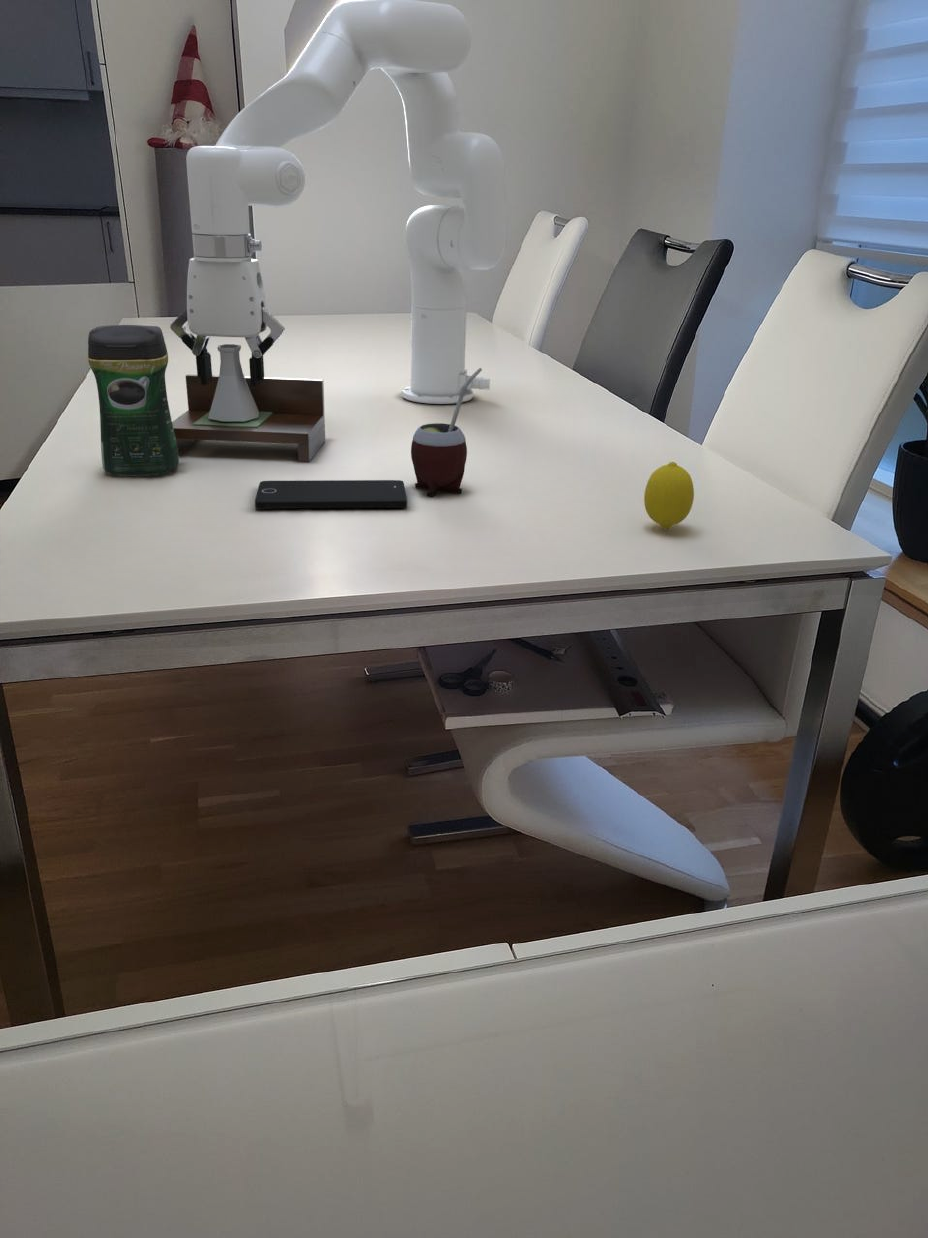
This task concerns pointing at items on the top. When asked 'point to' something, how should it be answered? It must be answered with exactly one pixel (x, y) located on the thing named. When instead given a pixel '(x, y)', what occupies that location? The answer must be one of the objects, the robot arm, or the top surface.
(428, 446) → the mate gourd
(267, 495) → the cell phone
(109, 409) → the coffee jar
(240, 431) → the shelf
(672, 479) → the lemon
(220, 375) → the flask
